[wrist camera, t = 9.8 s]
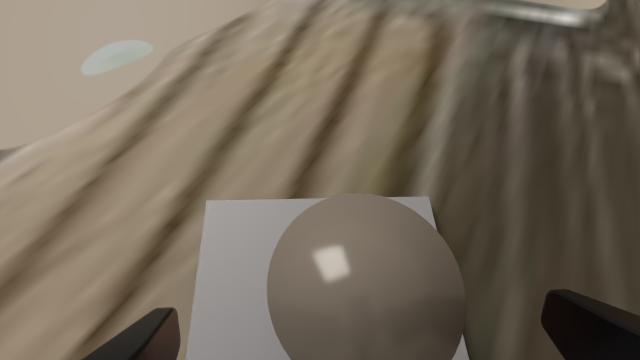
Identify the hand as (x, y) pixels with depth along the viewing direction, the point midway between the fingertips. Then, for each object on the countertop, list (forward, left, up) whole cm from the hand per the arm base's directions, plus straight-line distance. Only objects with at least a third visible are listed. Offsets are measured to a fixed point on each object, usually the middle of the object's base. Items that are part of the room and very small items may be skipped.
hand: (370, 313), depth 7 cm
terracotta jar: (+1, 0, -10) cm, 10 cm away
